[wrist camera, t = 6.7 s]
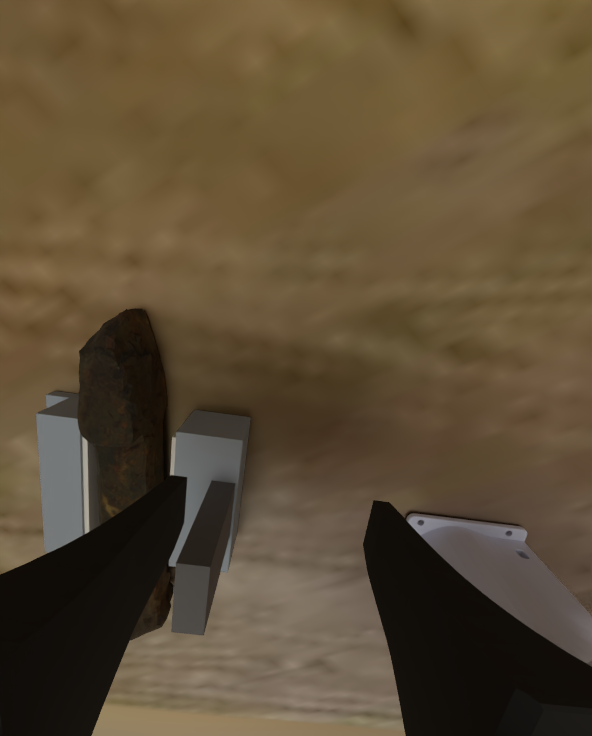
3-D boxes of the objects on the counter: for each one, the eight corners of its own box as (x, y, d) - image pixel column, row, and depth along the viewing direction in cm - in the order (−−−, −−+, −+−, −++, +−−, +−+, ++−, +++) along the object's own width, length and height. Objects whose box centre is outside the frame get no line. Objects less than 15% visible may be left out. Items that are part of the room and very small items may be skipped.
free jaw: (251, 417, 22) (219, 509, 13) (237, 533, 24) (202, 681, 15) (190, 408, 22) (114, 496, 13) (182, 526, 24) (113, 672, 15)
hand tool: (181, 584, 26) (152, 661, 21) (123, 579, 26) (79, 655, 20) (196, 315, 21) (161, 324, 15) (123, 305, 20) (62, 311, 15)
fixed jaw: (117, 399, 22) (84, 419, 18) (117, 519, 24) (87, 556, 21) (55, 390, 21) (9, 410, 18) (60, 512, 24) (21, 549, 20)
